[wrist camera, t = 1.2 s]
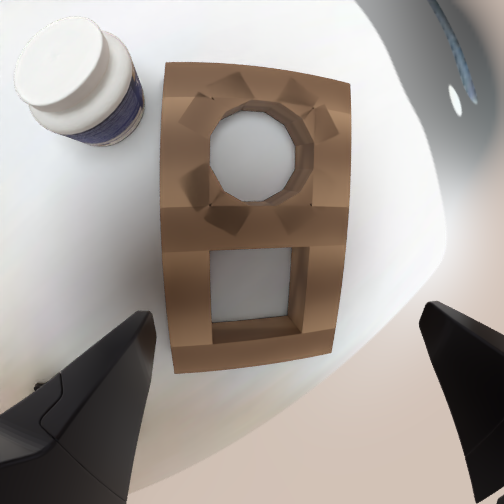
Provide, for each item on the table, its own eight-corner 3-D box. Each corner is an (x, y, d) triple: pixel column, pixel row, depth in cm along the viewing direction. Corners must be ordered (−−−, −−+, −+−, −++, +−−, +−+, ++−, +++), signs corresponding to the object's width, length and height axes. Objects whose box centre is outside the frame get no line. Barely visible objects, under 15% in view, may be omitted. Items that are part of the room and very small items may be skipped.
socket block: (315, 335, 24) (331, 352, 21) (173, 350, 21) (174, 373, 18) (329, 93, 19) (350, 83, 16) (167, 78, 16) (165, 62, 13)
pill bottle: (162, 99, 17) (151, 33, 8) (111, 162, 17) (53, 150, 8) (107, 61, 15) (66, -12, 6) (58, 121, 15) (-19, 89, 6)
